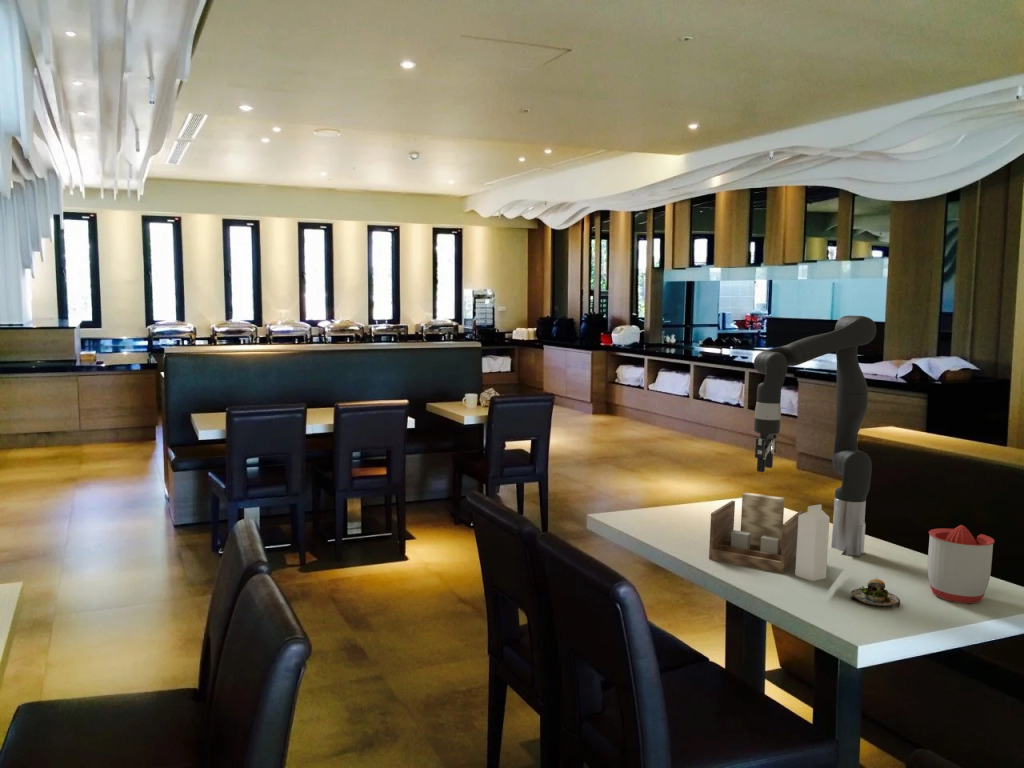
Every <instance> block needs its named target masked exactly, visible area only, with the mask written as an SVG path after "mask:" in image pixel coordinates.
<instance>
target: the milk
mask: <svg viewBox="0 0 1024 768" xmlns="http://www.w3.org/2000/svg"><path fill="white" fill-rule="evenodd" d="M830 520H831V519H830V516H829V515H828V514H827V513H826V512H825V511H824V510H823V509H822V504H816V505H815V504H814V505H808V507H807V511H806V512H803V514H801V515H799V518H798V535H797V552H796V561H795V571H794V572H795V573H794V575H795V576H797V577H800V578H802V579H805V580H808V581H812V582H815V581H819V580H822V579H826V578H827V568H828V567H827V566H828V554H829V550H828V548H829V537H830V536H829V533H830Z"/></svg>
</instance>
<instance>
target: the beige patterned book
mask: <svg viewBox="0 0 1024 768" xmlns="http://www.w3.org/2000/svg"><path fill="white" fill-rule="evenodd" d="M741 496H742V497H741V515H740V516H741V517H740V531H742V532H747V533H751V537H750V544H753V545H758V546H761V537H762V536H764V535H765V536H771V537H777V538H781V542H780V549H781V545H782V528H783V524H784V516H785V515H784V512H785V499H786V498H785V497H782V496H773V495H769V494H768V495H767V494H761V493H751V492H747V491H745V492H744V493H742V495H741Z"/></svg>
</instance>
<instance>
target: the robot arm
mask: <svg viewBox="0 0 1024 768" xmlns="http://www.w3.org/2000/svg"><path fill="white" fill-rule="evenodd" d="M876 335H877V325H876V323H875V322H874V320H873V319H872V318H870V317H868V316H864V315H842V316H841V317H840V318H839V319H838V320H837V321H836V323H835V327H834V330H833V331H830V332H825V333H820V334H816V335H810V336H806V337H804V338H800V339H798V340H795V341H793V342H791V343H788V344H786V345H782V346H777V347H774V348H773V347H772V348H770V349H766V350H763V351H761V352H759V353H758V354H757V355H756V356H755V358H754V359H753V367H754V369H755V370H756V371H757V372H758V373H760V374H761V375H765V377H764V379H763V382H761V383H758V385H757V387H756V388H757V389H756V404H755V408H754V427H753V430H754V432H755V433H756V434H757V433H758V434H759V437H756V438H755V448H754V449H755V451H754V458H755V459H756V460H757V461H756V462H757V463H756V471H757V472H758V473H764V472H765V471H766V468H768V469H771V468H773V465H774V455H775V454H776V453H777V449H776V448H777V435H778V434H780V432H781V420H782V419H781V417H782V415H781V414H782V406H781V405H782V404H781V399H782V389H783V387H784V386H783V385H784V382H785V380H786V379H785V378H786V377H787V373H788V367H796V366H799V365H802V364H804V363H807V362H810V361H811V360H812V361H813V360H814V359H817V358H820V357H822V356H825V355H828V354H831V353H836V354H835V355H836V356H835V358H836V388H835V389H836V390H835V391H836V392H835V409H836V410H835V435H834V436H835V437H834V441H833V442H834V443H833V449H832V450H833V451H832V467H833V469H834V470H835V472H837V473H838V474H839V475H841V476H842V482H841V485H840V486H839V487H837V488H836V489H835V491H834V500H833V502H834V504H833V516H832V517H833V519H832V532H831V533H832V535H831V549H835V550H839V551H841V552H842V551H843V552H842V553H841V556H842V555H843V556H849V557H851V556H852V557H855V556H856V557H861V556H862V555H863V553H864V552H865V551H864V550H865V540H866V539H865V537H866V536H865V535H866V521H865V519H866V517H865V516H866V504H867V496H868V494H869V491H870V489H871V481H872V480H871V479H872V471H873V470H872V467H873V465H872V464H873V463H872V460H871V457H870V456H869V455H868V453H866V452H864V451H862V450H859V447H858V435H859V429H860V426H861V424H862V423H863V420H864V418H865V416H866V413H867V410H868V404H869V403H868V401H869V399H868V398H869V396H868V395H869V392H868V391H869V387H868V384H867V380H866V377H865V375H864V373H863V371H862V368H861V366H860V364H859V359H858V347H859V346H865V345H868V344H869V343H870V342H872V341H873V340H874V339H875V337H876Z"/></svg>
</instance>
